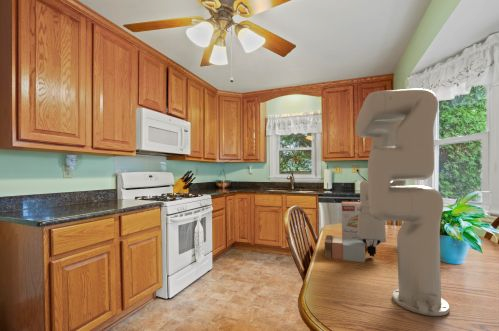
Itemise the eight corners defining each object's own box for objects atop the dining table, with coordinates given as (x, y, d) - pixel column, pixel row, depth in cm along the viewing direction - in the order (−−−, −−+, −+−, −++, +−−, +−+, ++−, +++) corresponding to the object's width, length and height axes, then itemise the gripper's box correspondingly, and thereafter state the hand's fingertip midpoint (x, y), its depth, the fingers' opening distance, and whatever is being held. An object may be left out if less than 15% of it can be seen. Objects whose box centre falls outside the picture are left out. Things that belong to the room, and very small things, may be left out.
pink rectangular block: (343, 259, 100) (342, 243, 101) (331, 258, 102) (331, 242, 102) (343, 252, 110) (343, 237, 110) (333, 251, 111) (332, 236, 111)
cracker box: (342, 247, 116) (341, 202, 117) (341, 243, 122) (340, 201, 122) (375, 249, 112) (374, 203, 112) (373, 245, 118) (372, 201, 118)
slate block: (365, 262, 97) (364, 246, 97) (343, 260, 100) (343, 245, 100) (363, 252, 108) (362, 239, 108) (343, 251, 111) (343, 237, 111)
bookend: (331, 258, 101) (330, 242, 101) (324, 258, 102) (324, 242, 102) (332, 249, 112) (332, 235, 113) (327, 249, 113) (326, 235, 113)
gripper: (350, 211, 101) (352, 256, 100) (392, 212, 95) (394, 260, 95) (350, 208, 108) (352, 250, 107) (389, 210, 102) (391, 254, 102)
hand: (371, 255), depth 101 cm, fingers closed
